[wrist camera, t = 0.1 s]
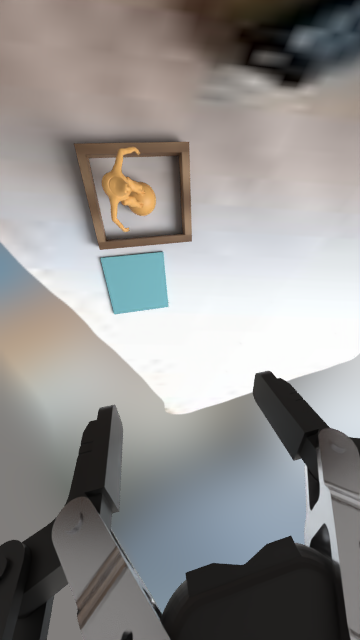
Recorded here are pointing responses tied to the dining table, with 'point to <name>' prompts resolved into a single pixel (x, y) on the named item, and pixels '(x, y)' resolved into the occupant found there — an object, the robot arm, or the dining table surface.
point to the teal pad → (136, 282)
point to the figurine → (127, 190)
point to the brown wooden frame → (145, 151)
